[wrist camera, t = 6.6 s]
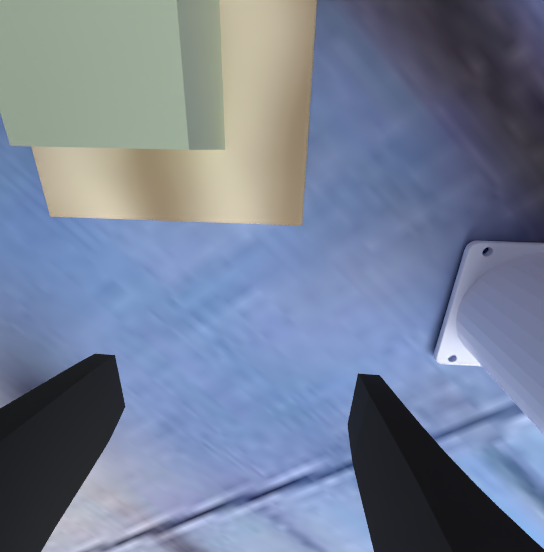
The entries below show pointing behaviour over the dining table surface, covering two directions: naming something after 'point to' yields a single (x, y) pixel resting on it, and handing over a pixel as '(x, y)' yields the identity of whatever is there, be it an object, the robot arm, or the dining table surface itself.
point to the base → (212, 163)
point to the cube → (112, 74)
